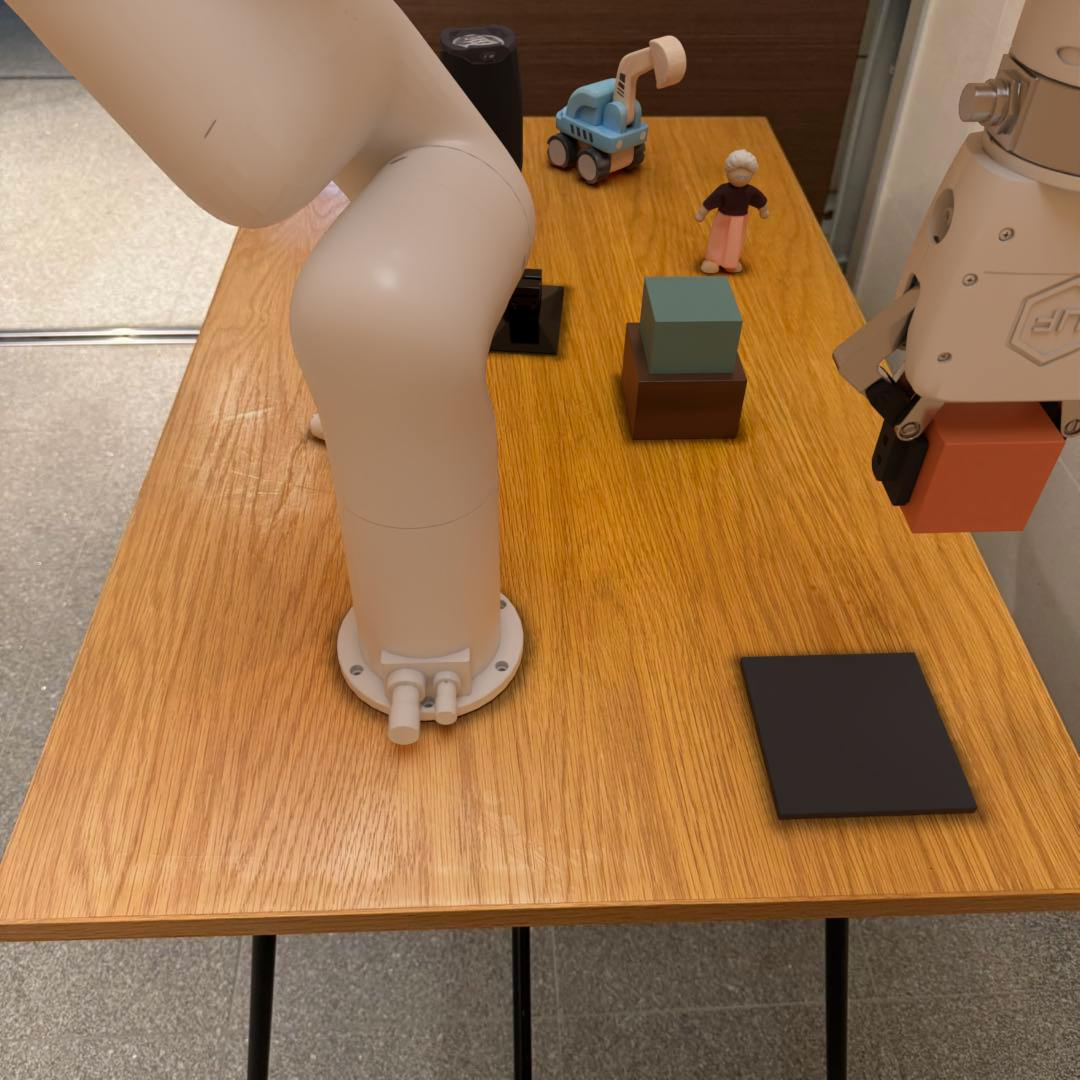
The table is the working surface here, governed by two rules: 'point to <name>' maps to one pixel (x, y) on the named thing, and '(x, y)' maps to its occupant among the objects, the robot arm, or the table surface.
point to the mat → (853, 737)
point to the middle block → (689, 325)
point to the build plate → (530, 318)
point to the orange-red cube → (983, 467)
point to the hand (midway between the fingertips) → (953, 483)
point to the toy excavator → (613, 114)
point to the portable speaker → (489, 78)
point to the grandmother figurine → (731, 213)
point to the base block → (679, 398)
